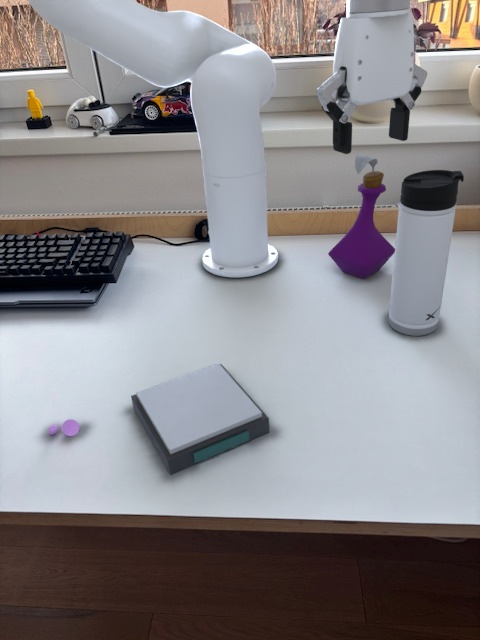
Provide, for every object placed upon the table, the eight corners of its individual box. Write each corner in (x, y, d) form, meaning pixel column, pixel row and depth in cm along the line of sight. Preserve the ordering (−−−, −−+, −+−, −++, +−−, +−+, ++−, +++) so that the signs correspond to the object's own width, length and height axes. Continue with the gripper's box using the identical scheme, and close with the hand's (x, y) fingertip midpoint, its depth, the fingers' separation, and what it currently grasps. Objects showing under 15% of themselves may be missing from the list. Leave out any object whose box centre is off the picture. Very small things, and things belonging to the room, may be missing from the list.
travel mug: (443, 338, 68) (468, 182, 58) (388, 335, 69) (403, 182, 59) (437, 312, 73) (460, 164, 63) (387, 310, 75) (401, 165, 64)
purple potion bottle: (355, 256, 90) (361, 145, 80) (394, 269, 85) (406, 152, 75) (326, 272, 85) (330, 157, 76) (367, 286, 81) (375, 166, 71)
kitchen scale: (133, 409, 60) (129, 391, 59) (222, 376, 64) (220, 359, 63) (171, 477, 52) (167, 457, 50) (271, 434, 56) (270, 415, 54)
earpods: (75, 439, 59) (75, 423, 60) (79, 435, 58) (79, 419, 58) (47, 440, 57) (46, 423, 58) (50, 436, 56) (50, 419, 57)
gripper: (410, -4, 72) (400, 130, 81) (301, 8, 66) (302, 151, 75) (454, -5, 66) (437, 139, 75) (339, 8, 60) (335, 163, 69)
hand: (370, 145), depth 75 cm, fingers open, 9 cm apart
